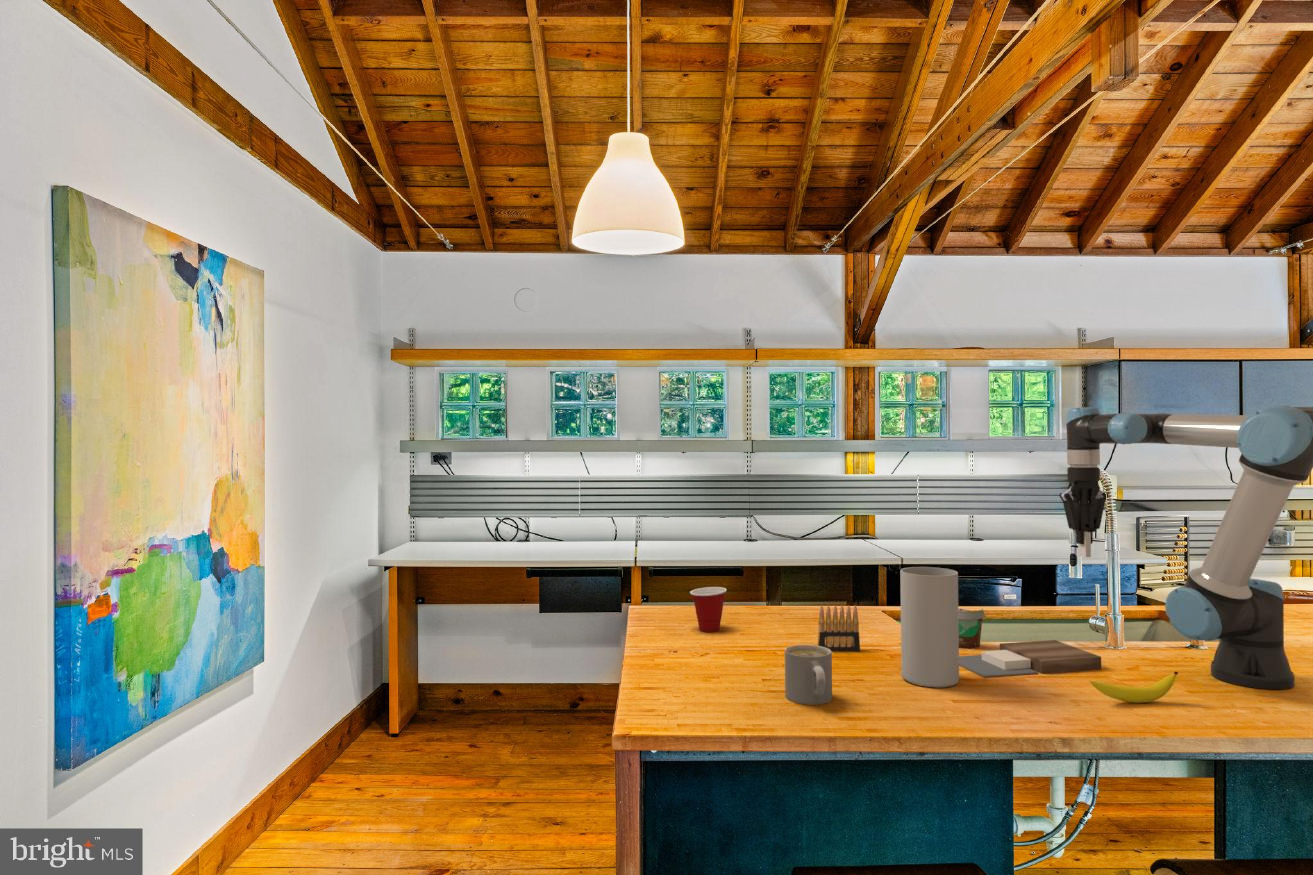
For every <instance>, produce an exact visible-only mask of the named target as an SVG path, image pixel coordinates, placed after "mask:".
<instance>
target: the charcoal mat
mask: <svg viewBox="0 0 1313 875" xmlns="http://www.w3.org/2000/svg"><path fill="white" fill-rule="evenodd" d="M959 667H961V668H964V669H966V670H967V671H970V673H971V672H972V673H974V675H975V674H976V675H978V676H980V677H982V678H984V679H985V678H998V677H1012V676H1025V675H1026V676H1028V675H1038V674H1039V672H1037V671H1035V670H1032V669H1030V668H1023V669H1010V670H1004V669H1002V668H1000V667H997V666H995V665H993V664H991V663H988V662H986V661H984V660H982V654H975V655H961V656H960V655H959Z"/></svg>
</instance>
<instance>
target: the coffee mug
mask: <svg viewBox="0 0 1313 875" xmlns="http://www.w3.org/2000/svg"><path fill="white" fill-rule="evenodd" d="M784 685H785V686H784V690H785V691H784V692H785V693H784V695H785V698H786V700H788V701H789V702H792V703H796V704H800V705H808V706H809V705H810V706H811V705H812V706H815V705H824V704H827V703H829V702H831V701H832V700H833V652H831V650H830V649H828V648H825V647H822V646H818V645H816V644H796V645H790V646H787V647H785V649H784Z"/></svg>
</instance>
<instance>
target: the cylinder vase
mask: <svg viewBox="0 0 1313 875" xmlns="http://www.w3.org/2000/svg"><path fill="white" fill-rule="evenodd" d="M899 573H900V574H899V575H900V576H899V577H900V584H899V585H900V646H901V647H900V648H901V649H900V651H901V652H900V656H901V658H900V659H901V660H900V662H901V666H900V667H901V668H900V669H901V676H902V678H903V679H904V680H905V681H906V682H908V683H910V684H913V685H915V686H920V687H926V688H938V689H939V688H941V689H942V688H948V687H953V686H955V685H957V684H958V683H959V681H960V666H959V656H960V648H959V624H958V609H959V573H958V571H956V570H954V569H950V568H942V567H933V566H931V567H930V566H911V567H904V568H901V569H900V572H899Z"/></svg>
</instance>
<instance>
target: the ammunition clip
mask: <svg viewBox="0 0 1313 875" xmlns="http://www.w3.org/2000/svg"><path fill="white" fill-rule="evenodd" d="M851 610H852V609H851V607H850V605H847V607H846V615H845V610H844V606H843V605H842V604H841V606H840V608H839V613H838V608H837V604H836V605H834V607H833V610H832V611H831V607H830V605H827V607H826V613H825V612H824V611H825V610H824V607H823V605H822V604H821V605H820V607H819V618H818V636H817V637H818V638H817V639H818V642H817V643H818V644H817V646H822V647H825V648H828V649H830V650H831V652H832V653H833V652H834V653H837V652H838V653H840V652H841V653H843V652H844V653H845V652H846V653H848V652H855V653H856V652H858V653H860V652H861V645H860V643H861V642H860V630H859V629H860V627H859V623H860V622H859V616H858V615H859V614H858V608H857V605H854V606H853V611H851ZM831 612H832V614H831ZM825 614H826V616H825ZM838 614H839V615H838ZM838 616H839V617H838ZM845 616H846V617H845ZM845 618H846V619H845Z"/></svg>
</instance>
